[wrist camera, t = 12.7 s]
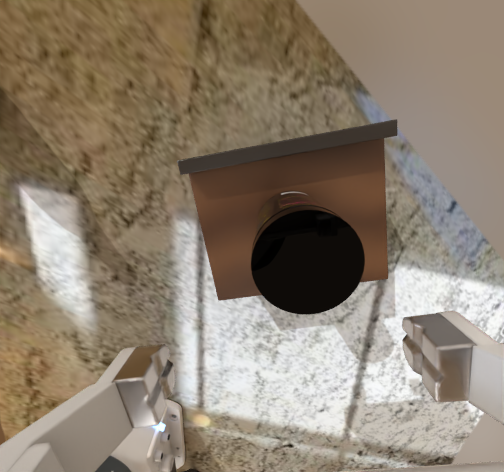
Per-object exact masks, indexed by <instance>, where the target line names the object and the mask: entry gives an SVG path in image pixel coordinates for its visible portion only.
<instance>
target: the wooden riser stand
mask: <svg viewBox="0 0 504 472" xmlns="http://www.w3.org/2000/svg"><path fill="white" fill-rule="evenodd" d="M392 136H397V120H391V121H386V122H380V123H375V124H370V125H364V126H359V127H354V128H348V129H343V130H338V131H332V132H327V133H322V134H316V135H311V136H306V137H300V138H295V139H290V140H284V141H279V142H273V143H268V144H263V145H257V146H252V147H247V148H241V149H236V150H231V151H225V152H220V153H215V154H209V155H204V156H199V157H193V158H188V159H183V160H178V161H177V162H178V166H179V170H180V174H181V175H183V174H188V173H189V177H190V181H191V186H192V190H193V194H194V198H195V203H196V207H197V211H198V215H199V220H200V224H201V228H202V232H203V237H204V241H205V245H206V249H207V253H208V258H209V262H210V266H211V270H212V275H213V279H214V283H215V287H216V292H217V296H218V300H227V299H235V298H243V297H250V296H258V295H262V294H261V293H260V291H259V290H258V288H257V287H256V284H255V282H254V280H253V276H252V272H251V256H252V247H253V242H254V239H255V232H256V225H257V218H258V215H259V212H260V210H261V208H262V207H263V205H264V204H265V203H266V202H267V201H268V200H269V199H270V198H271V197H273V196H275V195H276V194H279V193H281V192H285V191H300V192H304V193H306V194H309V195H310V196H312V197H313V198H315V199H316V200H317V201H319V202H320V203H321V204H323V205H324V206H325V207H326V208H328V209H329V210H331V211H333V212H334V213H336V214H337V215H339V216H340V217H341V218H342V219H343V220H344V221H346V222H347V223H348V224H349V225H350V226H351V227H352V228H353V229H354V230H355V232H356V233H357V235H358V236H359V238H360V240H361V242H362V245H363V249H364V254H365V266H364V271H363V275H362V278H361V280H360V282H367V281H374V280H382V279H388V262H387V228H386V193H385V159H384V138H387V137H392Z"/></svg>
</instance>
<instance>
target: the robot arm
mask: <svg viewBox="0 0 504 472" xmlns="http://www.w3.org/2000/svg"><path fill="white" fill-rule="evenodd" d="M402 328H403V330H404V331H405V332H406V333H407V335H406V336H405V337H404V339H403V350H404V354H405V357H406V360H407V361H408V363H409V365H410V367H411V368H412V369H413V371H415V372H416V373H418V374H420V375H422V383H423V385H424V386H425V387H426V389H427V390H428V392H429V393H430V394H431V396H432V397H433V398H434V400H435V401H436V402H450V401H468V400H469V403H471V404H472V405H474V406H475V407H477V408H478V409H480V410H481V411H483V412H485V413H486V414H488V415H489V416H491V417H492V418H494V419H495V420H497V421H498V422H500V423H501V424H503V425H504V343H498V342H496V341H495V340H494V339H492V338H491V337H490V336H488V335H487V334H486V333H484V332H483V331H482V330H480V329H479V328H478V327H476V326H475V325H474V324H472V323H471V322H470V321H469V320H467V319H466V318H465V317H463V316H462V315H461V314H459V313H458V312H455V311H446V312H439V313H436V314H428V315H420V316H411V317H404V319H403V322H402ZM169 355H170V352H169V349H168V346H167V345H165V344H161V345H150V346H139V347H130V348H125V349H123V350H121V351H120V353H119V354H118V355H117V357H116V358H115V359H114V360H113V362H112V363H111V364H110V366H109V367H108V368H107V369H106V371H105V372H104V373H103V375H102V376H101V377H100V379H99V380H98V381H97V382H96V384H93V385H89V386H88V387H87V388H85V389H84V390H82V391H81V392H79V393H78V394H76V395H75V396H73V397H72V398H70V399H69V400H67V401H66V402H64V403H63V404H61V405H60V406H58V407H57V408H55V409H54V410H52V411H51V412H49V413H48V414H46V415H45V416H43V417H42V418H40V419H39V420H37V421H36V422H34V423H33V424H31V425H30V426H28V427H27V428H25V429H24V430H22V431H21V432H19V433H18V434H16V435H15V436H13V437H12V438H10V439H9V440H7V441H6V442H4V443H3V444H1V445H0V472H177V471H176V469H178V468H180V467H181V466H183V465H184V462H185V444H184V430H183V417H182V407H181V406H180V405H179V404H178V403H176V402H174V401H171V400H168V399H167V398H168V397H169V396H170V395H171V394H172V391H173V389H174V386H175V378H176V375H175V368H174V365H173V363H171V362H170V361H169V360H168V358H169ZM183 472H198V471H196V470H194V469H189V470H187V471H183ZM339 472H504V461H498V462H482V463H466V464H450V465H434V466H419V467H403V468H387V469H371V470H355V471H339Z"/></svg>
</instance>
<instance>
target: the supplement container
mask: <svg viewBox="0 0 504 472" xmlns="http://www.w3.org/2000/svg"><path fill="white" fill-rule="evenodd" d="M364 266H365V254H364V249H363V245H362V242H361V240H360V238H359V236H358V235H357V233H356V232H355V230H354V229H353V228H352V227H351V226H350V225H349V224H348V223H347V222H346V221H344V220H343V219H342V218H341V217H340V216H339V215H337V214H336V213H334V212H333V211H331V210H329V209H328V208H326V207H325V206H324V205H323V204H321V203H320V202H319V201H317V200H316V199H315V198H313V197H312V196H310V195H309V194H306V193H304V192H300V191H285V192H281V193H279V194H276V195H275V196H273V197H271V198H270V199H269V200H268V201H267V202H266V203H265V204H264V205H263V207H262V208H261V210H260V212H259V215H258V218H257V225H256V232H255V239H254V242H253V247H252V256H251V272H252V276H253V280H254V282H255V284H256V287H257V288H258V290H259V291H260V293H261V294H262V295H263V296H264V298H265V299H266V300H268V301H269V302H270V303H271V304H273V305H274V306H276V307H278V308H280V309H282V310H284V311H287V312H291V313H295V314H316V313H321V312H324V311H327V310H330V309H332V308H334V307H336V306H338V305H339V304H341V303H342V302H344V301H345V300H346V299H347V298H348V297H349V296H350V295H351V294H352V293H353V292H354V290H355V289H356V288H357V286H358V284H359V282H360V280H361V278H362V275H363V271H364Z"/></svg>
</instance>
